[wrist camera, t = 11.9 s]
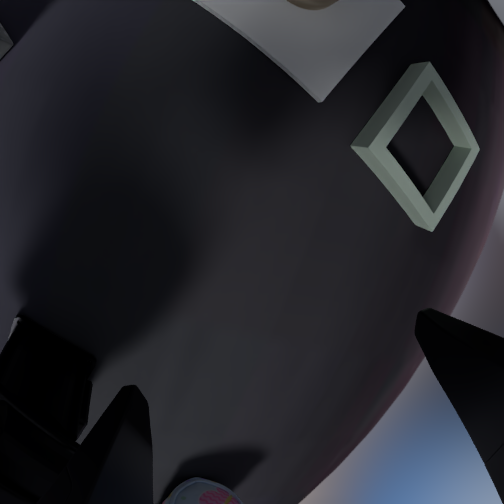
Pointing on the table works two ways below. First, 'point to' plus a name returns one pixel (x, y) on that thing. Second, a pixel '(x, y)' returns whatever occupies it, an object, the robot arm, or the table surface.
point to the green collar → (387, 124)
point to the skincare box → (4, 41)
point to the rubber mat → (308, 35)
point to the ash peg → (312, 4)
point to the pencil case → (202, 493)
